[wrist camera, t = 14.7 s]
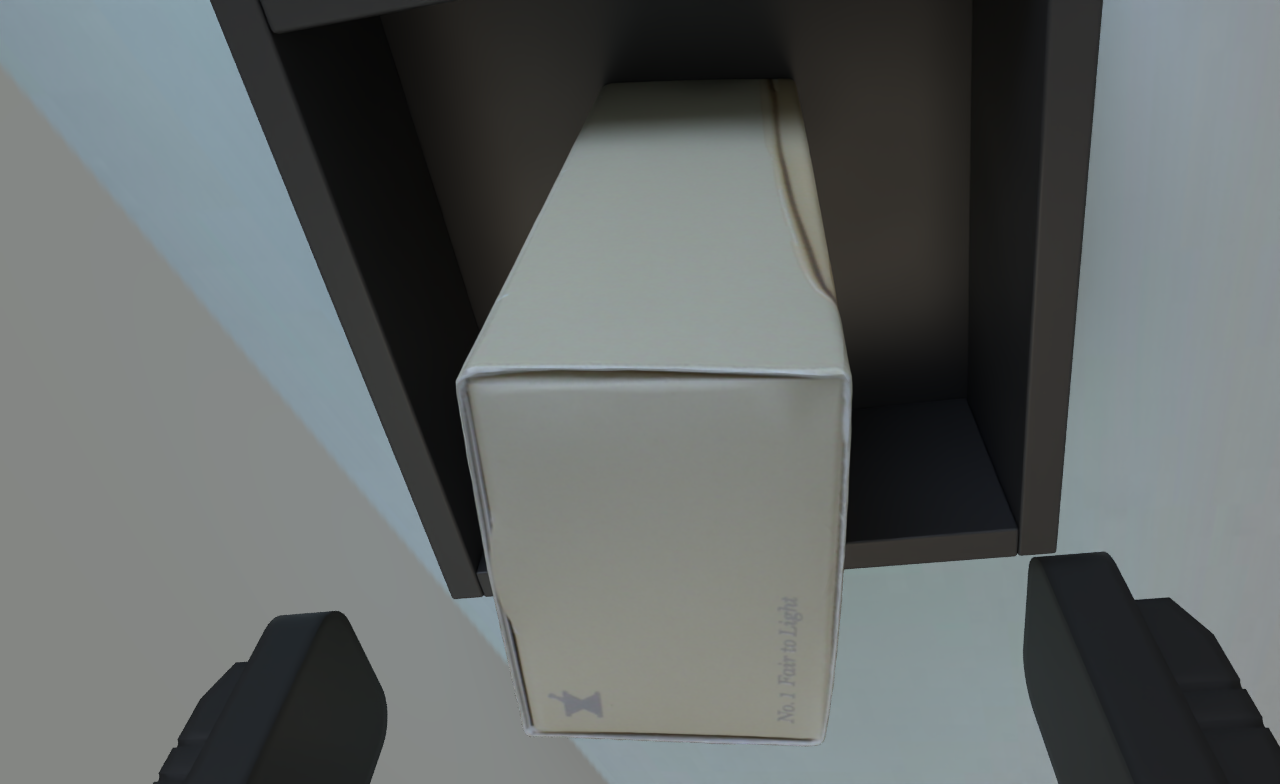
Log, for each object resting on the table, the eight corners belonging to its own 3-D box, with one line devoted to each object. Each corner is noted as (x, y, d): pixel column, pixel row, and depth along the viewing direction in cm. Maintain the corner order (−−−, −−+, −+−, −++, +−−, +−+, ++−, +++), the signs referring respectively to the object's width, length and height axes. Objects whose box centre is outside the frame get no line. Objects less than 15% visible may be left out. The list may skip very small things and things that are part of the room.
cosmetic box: (787, 325, 23) (838, 762, 13) (608, 328, 23) (519, 751, 13) (797, 63, 19) (878, 373, 9) (587, 71, 20) (442, 376, 10)
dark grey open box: (499, 456, 26) (452, 600, 22) (330, -59, 19) (205, -8, 15) (992, 406, 24) (1056, 554, 20) (1011, -197, 17) (1121, -188, 12)
